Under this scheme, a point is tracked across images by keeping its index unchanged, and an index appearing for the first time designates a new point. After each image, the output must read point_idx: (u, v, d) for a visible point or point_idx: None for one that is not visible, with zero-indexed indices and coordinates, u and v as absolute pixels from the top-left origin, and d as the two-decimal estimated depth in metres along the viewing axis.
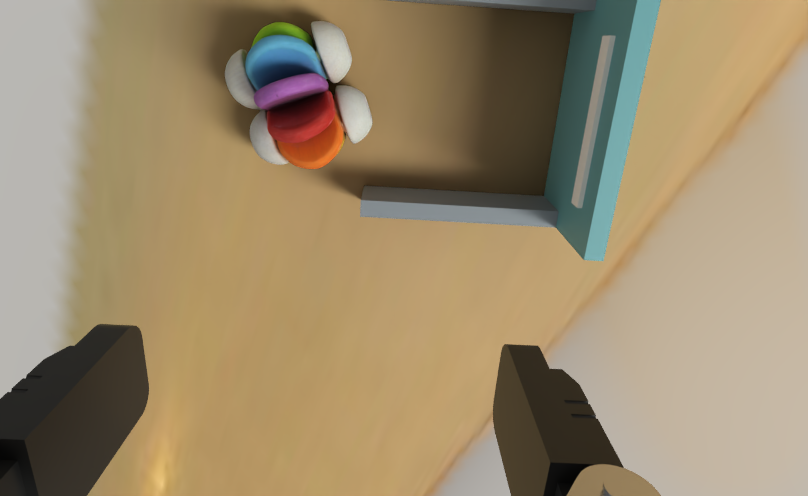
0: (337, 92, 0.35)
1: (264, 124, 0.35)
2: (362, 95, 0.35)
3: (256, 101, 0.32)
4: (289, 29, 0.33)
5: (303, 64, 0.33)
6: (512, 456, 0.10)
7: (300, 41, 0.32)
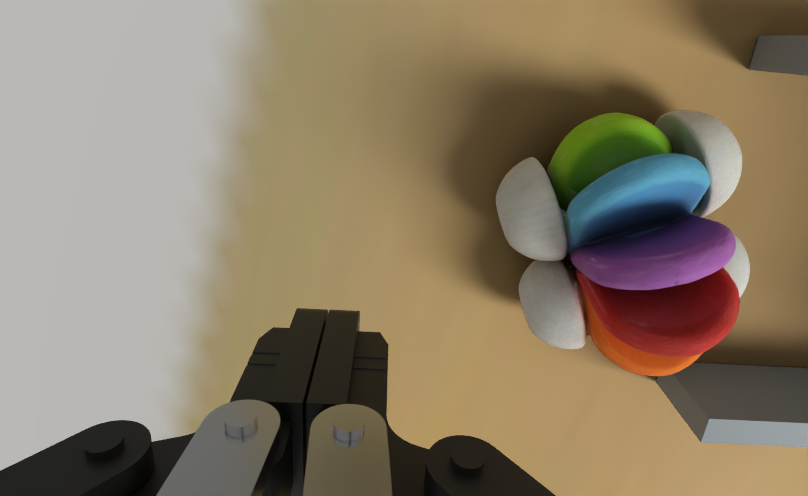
0: None
1: (570, 294, 0.19)
2: None
3: (609, 281, 0.16)
4: (644, 129, 0.18)
5: (683, 201, 0.17)
6: None
7: (701, 164, 0.16)
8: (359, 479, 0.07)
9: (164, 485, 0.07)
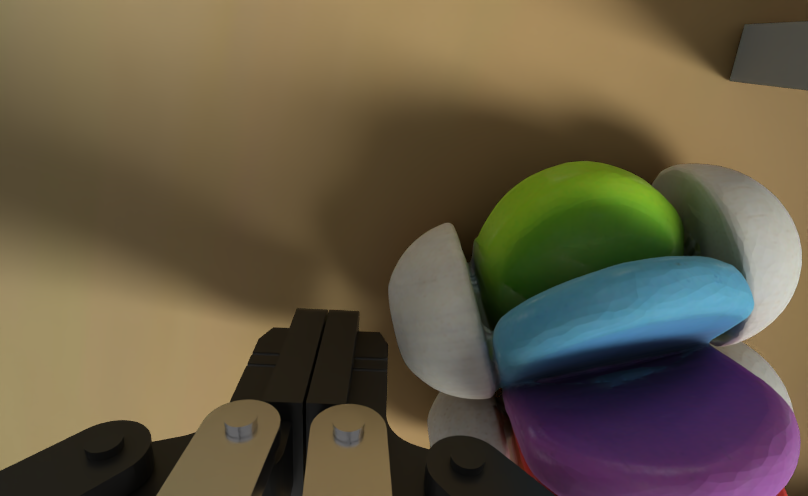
0: None
1: None
2: (777, 375, 0.12)
3: (555, 489, 0.09)
4: (637, 196, 0.10)
5: (700, 334, 0.09)
6: None
7: (741, 279, 0.08)
8: (358, 480, 0.07)
9: (164, 485, 0.07)
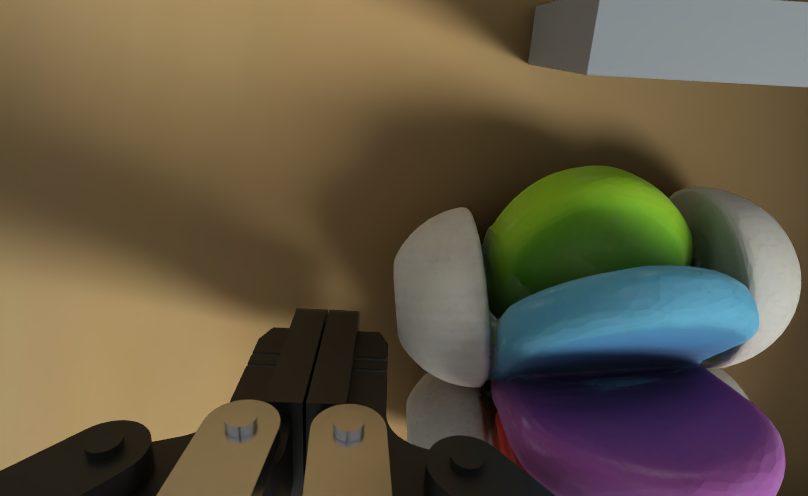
0: None
1: None
2: None
3: (544, 480, 0.08)
4: (658, 208, 0.10)
5: (699, 350, 0.10)
6: None
7: (753, 300, 0.09)
8: (358, 480, 0.07)
9: (164, 485, 0.07)
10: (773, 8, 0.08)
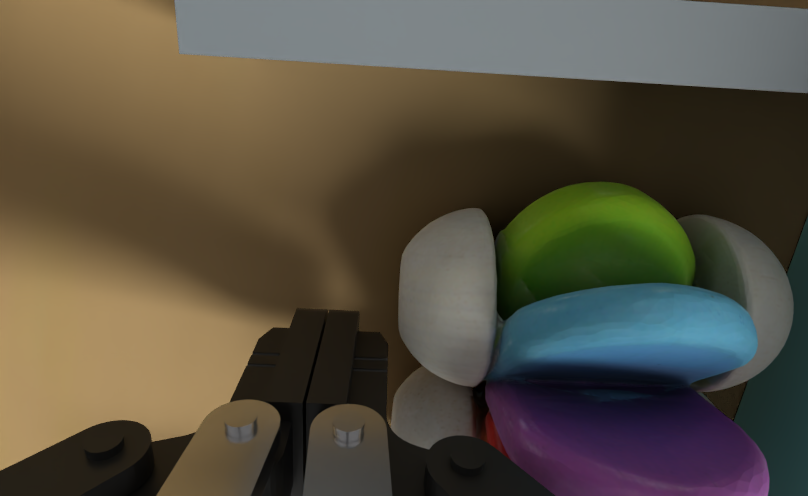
0: None
1: None
2: None
3: (539, 481, 0.09)
4: (669, 230, 0.10)
5: (695, 371, 0.10)
6: None
7: (755, 328, 0.09)
8: (359, 480, 0.07)
9: (164, 485, 0.07)
10: None
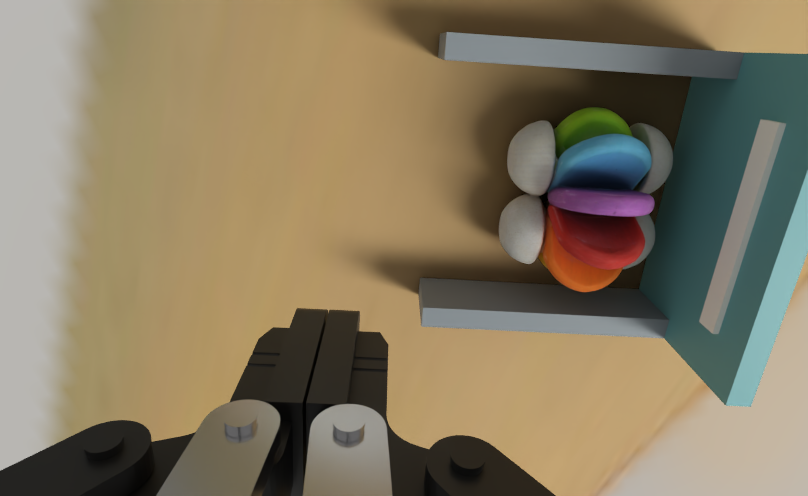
0: None
1: (539, 218, 0.28)
2: None
3: (574, 204, 0.25)
4: (621, 124, 0.27)
5: (631, 175, 0.26)
6: None
7: (649, 152, 0.25)
8: (359, 479, 0.07)
9: (164, 485, 0.07)
10: (503, 38, 0.24)
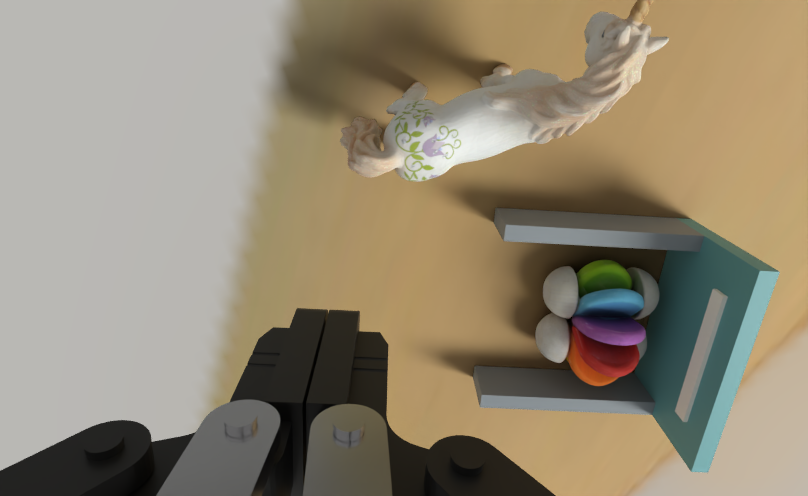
0: None
1: (566, 335, 0.40)
2: None
3: (591, 335, 0.37)
4: (623, 274, 0.39)
5: (630, 311, 0.38)
6: None
7: (642, 299, 0.37)
8: (359, 479, 0.07)
9: (164, 485, 0.07)
10: (543, 228, 0.36)
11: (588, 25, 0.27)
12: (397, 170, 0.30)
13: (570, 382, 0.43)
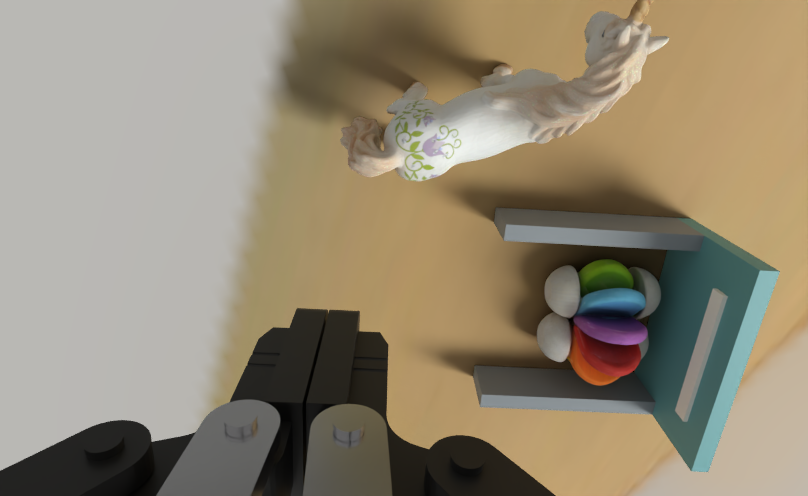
0: None
1: (568, 335, 0.40)
2: None
3: (593, 334, 0.37)
4: (625, 273, 0.39)
5: (631, 310, 0.38)
6: None
7: (644, 298, 0.37)
8: (359, 479, 0.07)
9: (164, 485, 0.07)
10: (543, 228, 0.36)
11: (588, 25, 0.27)
12: (397, 170, 0.30)
13: (570, 382, 0.44)
